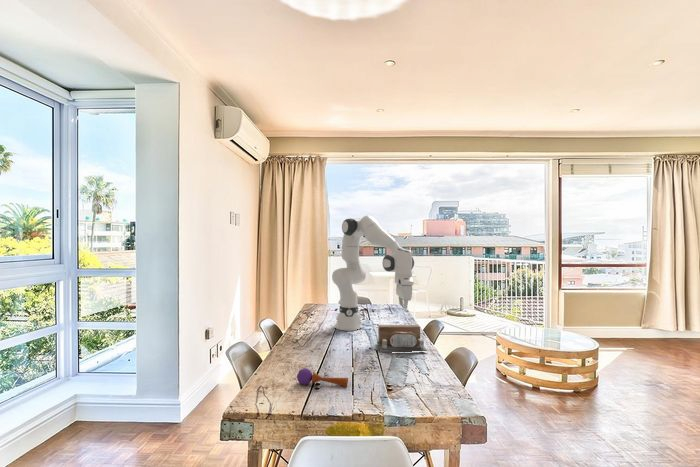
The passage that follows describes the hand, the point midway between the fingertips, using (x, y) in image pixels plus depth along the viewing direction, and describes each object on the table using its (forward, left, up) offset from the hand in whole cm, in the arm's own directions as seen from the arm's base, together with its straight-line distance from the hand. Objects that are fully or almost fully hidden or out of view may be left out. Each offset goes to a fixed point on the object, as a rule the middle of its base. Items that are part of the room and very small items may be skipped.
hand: (403, 306), depth 179 cm
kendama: (+41, -41, -23) cm, 62 cm away
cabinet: (-4, 0, -23) cm, 23 cm away
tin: (+1, 0, -21) cm, 21 cm away
